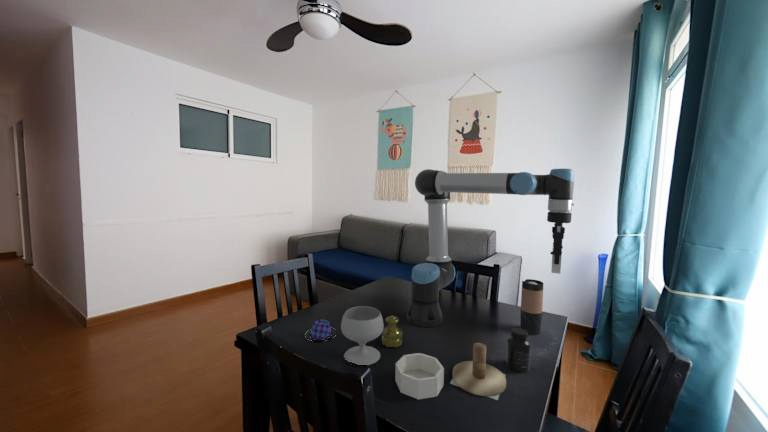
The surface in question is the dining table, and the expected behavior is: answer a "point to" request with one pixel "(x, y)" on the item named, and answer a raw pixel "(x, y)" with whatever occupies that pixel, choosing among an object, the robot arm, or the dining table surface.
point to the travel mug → (531, 306)
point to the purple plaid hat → (320, 329)
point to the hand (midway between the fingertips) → (555, 268)
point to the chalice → (362, 333)
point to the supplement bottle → (518, 351)
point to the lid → (479, 375)
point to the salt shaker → (392, 333)
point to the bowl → (419, 376)
